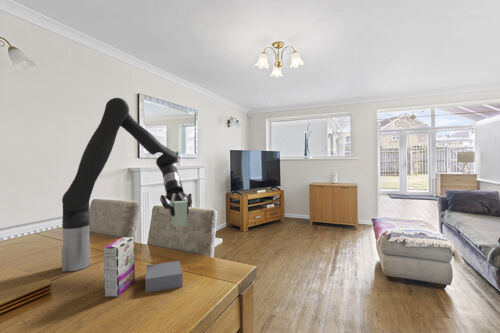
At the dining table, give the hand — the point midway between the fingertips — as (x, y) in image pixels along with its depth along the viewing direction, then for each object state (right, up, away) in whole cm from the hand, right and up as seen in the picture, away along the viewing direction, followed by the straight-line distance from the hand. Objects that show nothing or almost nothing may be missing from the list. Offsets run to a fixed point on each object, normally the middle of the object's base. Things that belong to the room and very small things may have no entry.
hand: (180, 214), depth 103 cm
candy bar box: (-16, -22, -19) cm, 33 cm away
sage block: (-1, -5, +2) cm, 5 cm away
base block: (-2, -22, -14) cm, 26 cm away
